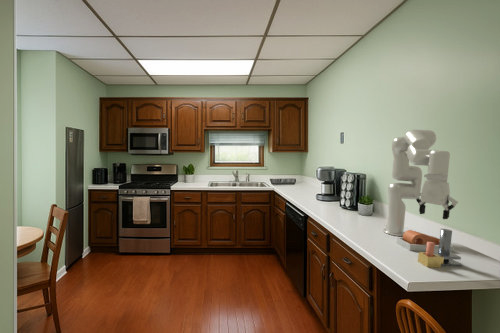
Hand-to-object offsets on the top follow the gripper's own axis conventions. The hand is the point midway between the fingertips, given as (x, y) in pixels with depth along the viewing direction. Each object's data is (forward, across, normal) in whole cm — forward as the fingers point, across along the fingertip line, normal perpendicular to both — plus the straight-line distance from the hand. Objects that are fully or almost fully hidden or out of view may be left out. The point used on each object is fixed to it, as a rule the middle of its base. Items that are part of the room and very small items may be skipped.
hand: (433, 216), depth 126 cm
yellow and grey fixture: (+22, 0, +7) cm, 23 cm away
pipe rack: (+22, -14, +23) cm, 35 cm away
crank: (+23, -14, +24) cm, 36 cm away
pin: (+22, 0, 0) cm, 22 cm away
